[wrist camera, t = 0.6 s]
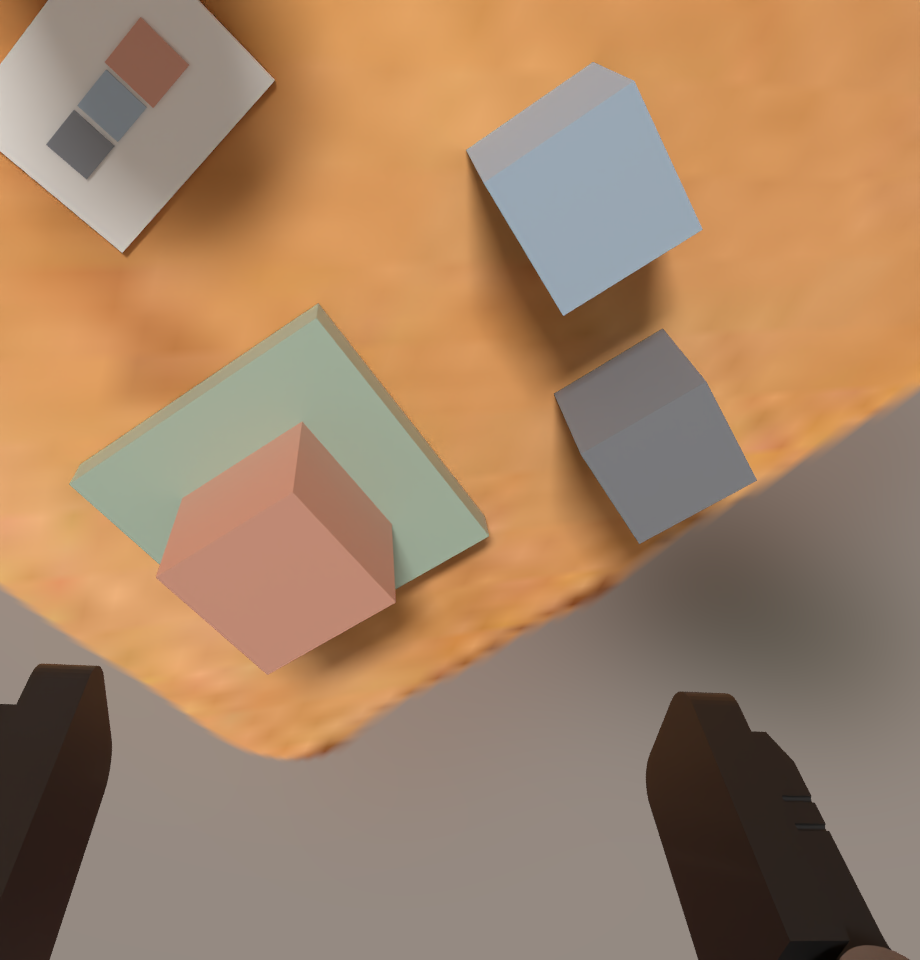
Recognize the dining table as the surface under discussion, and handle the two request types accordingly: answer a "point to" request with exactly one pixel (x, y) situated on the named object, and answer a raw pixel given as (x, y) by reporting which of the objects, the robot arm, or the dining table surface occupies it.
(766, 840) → the robot arm
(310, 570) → the base brick
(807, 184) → the dining table surface
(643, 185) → the blue brick
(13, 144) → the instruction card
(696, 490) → the slate brick
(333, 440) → the build plate
